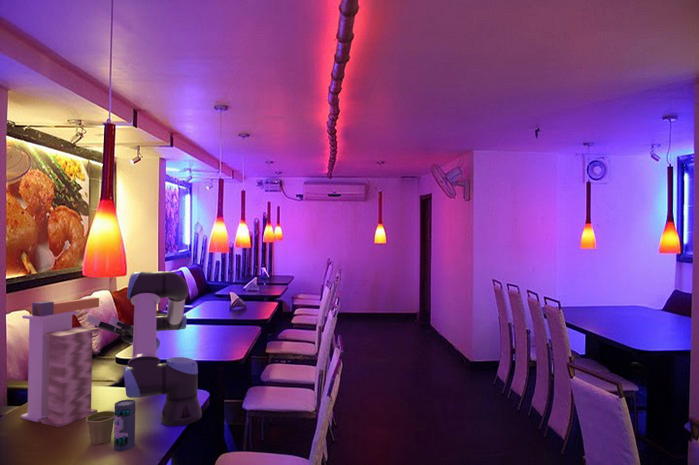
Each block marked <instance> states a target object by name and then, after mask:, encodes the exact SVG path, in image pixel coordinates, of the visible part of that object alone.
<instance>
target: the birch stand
mask: <svg viewBox="0 0 699 465" xmlns="http://www.w3.org/2000/svg"><path fill="white" fill-rule="evenodd" d="M95 332H100V328H98V327H97V328H95V327H90V326H83V325H80V326H76V327H72V328H70V329H65V330H60V331H55V332H49V333H44V334H43V337H50V340H49V397H48V418H46V419H43V420H41V421H40V422H41V424H43V425H44V424H45V425H47V426H51V427H56V428H61V427H64V426H66V425H69V424H71V423H74V422H76V421H79V420H81V419H84V418H87V417H88V416H89V415H91V414H94V413H97V412H98V409H97V408H92V385H93V384H92V380H93V378H92V377H93V376H92V375H93V333H95Z"/></svg>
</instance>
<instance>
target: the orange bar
mask: <svg viewBox="0 0 699 465" xmlns="http://www.w3.org/2000/svg"><path fill="white" fill-rule="evenodd" d="M99 307H100V297H86V298H80V299H71V300H65V301H64V300H63V301H57V302H56V301H55V302H54V301H47V300H43V301H42V300H41V301H35V302H32V305H31V314H32V315H33V316H46V315H53V314H57V313H64V312H70V311H82V310H89V309H95V308H99Z"/></svg>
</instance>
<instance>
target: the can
mask: <svg viewBox="0 0 699 465" xmlns="http://www.w3.org/2000/svg"><path fill="white" fill-rule="evenodd" d="M114 412H115V414H114V423H113V431H114V432H113V434H114V435H113V450H114V451H116V452H124V451H128V450H129V451H130V450H131V449H133V448H134V447H135V445H136V400H134V399H131V398H128V399H123V400H119V401H117V402H115V403H114Z"/></svg>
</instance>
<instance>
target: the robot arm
mask: <svg viewBox="0 0 699 465" xmlns="http://www.w3.org/2000/svg"><path fill="white" fill-rule="evenodd" d="M189 288H190V287H189V284H188V283H187V281H186V279H184V277H182V276H181V275H180V274H178V273H176V272H174V271H170V270H169V271H168V270H166V271H163V270H161V271H136V272H132V273H131V274H130V276H129V280H128V285H127V293H126V298H127V299H128V300H130V303H131V305H133V306H134V307H133V308H134V311H133V313H134V314H133V325H132V324H130V323H129V324H128V322H127V321H125V322H122V321H121V320H119V319H117V318H115V317H110V320H109V322H105V321H102V320H101V319H99V318H96V317H94V316H93V315H90V314H88V316H87V317H86V320H85V321H86V322H87V323H89V324H92V325H94V328H99V329H100V330H101V329H102V330H104V331H107V332H110V333H112V334H116V335H118V336H120V338H121V340H122V341H123V342H125V343H127V344H130V345H132V355H131V356H132V358H130V359H129V360H128V362H127V366H124V367H123V368H122V370H123V377H124V389H125V395H126V397H127V398H128V399H135V398H139V399H140V398H144V397H153V396H162V395H165V402H164V405H163V408H162V411H161V414H160V422H161V424H163V425H165V426H171V427H177V426H186V425H190V424H193V423H196V422H197V421H199V420H201V419H202V417H203V415H202V413H203V412H202V408H201V404H200V401H199V398H198V374H199V371H198V368H199V367H198V362H197V361H196V360H195V359H193V358H189V357H184V356H183V357H182V356H181V357H180V356H174V357H170V358H169V357H168V358H167V359H166V360H165V362H163V363H161V358H160V357H158V356H157V350H158V349H159V348H160V346H161V345H160V344H161V340H159V338H158V337H157V332H161V331H162V332H163V331H164V332H165V331H180V330H185V329H186V328H187V316H186V314H184V312H185V304H186V299H187V298H188V296H189V292H190V289H189ZM166 298H167V308H166V310H167V311H166V315H157V310H158V309H157V308H158V306H157V305H158V304H159V303H160V302H161V299H166Z"/></svg>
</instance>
